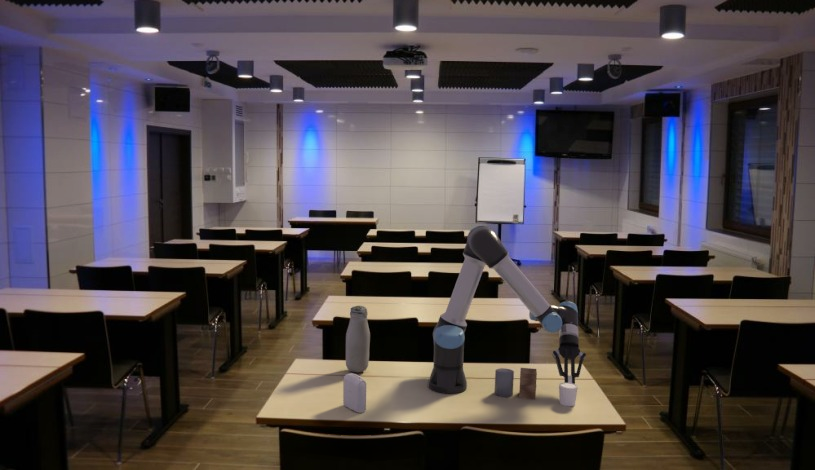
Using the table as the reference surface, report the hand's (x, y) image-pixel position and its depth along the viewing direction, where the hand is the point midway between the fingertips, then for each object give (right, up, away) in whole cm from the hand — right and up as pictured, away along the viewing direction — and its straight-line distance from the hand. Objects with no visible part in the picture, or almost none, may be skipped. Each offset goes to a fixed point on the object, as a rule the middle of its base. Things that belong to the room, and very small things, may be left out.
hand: (569, 392), depth 242 cm
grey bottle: (-82, +2, +26) cm, 87 cm away
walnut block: (-15, -2, +4) cm, 16 cm away
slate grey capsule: (-24, -2, +5) cm, 25 cm away
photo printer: (-80, -2, -13) cm, 82 cm away
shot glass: (-2, -3, -3) cm, 5 cm away
